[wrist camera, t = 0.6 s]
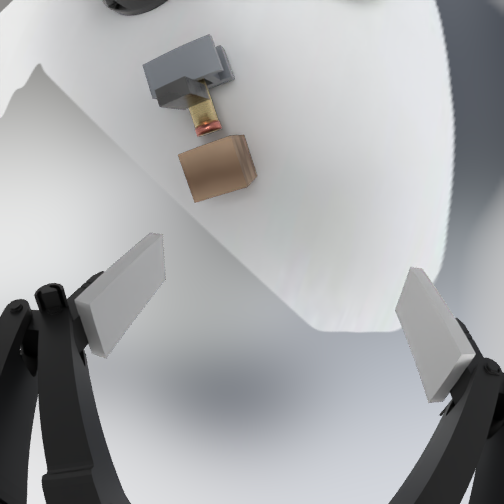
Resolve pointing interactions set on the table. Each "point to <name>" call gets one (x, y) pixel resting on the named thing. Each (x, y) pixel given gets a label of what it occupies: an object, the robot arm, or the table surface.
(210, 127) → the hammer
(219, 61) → the grey slotted clamp block
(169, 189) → the table surface
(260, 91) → the table surface
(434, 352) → the robot arm
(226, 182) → the socket block
